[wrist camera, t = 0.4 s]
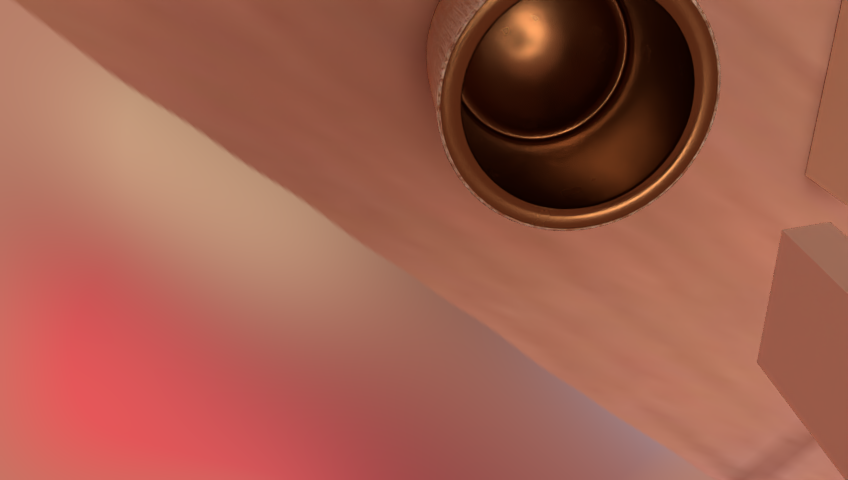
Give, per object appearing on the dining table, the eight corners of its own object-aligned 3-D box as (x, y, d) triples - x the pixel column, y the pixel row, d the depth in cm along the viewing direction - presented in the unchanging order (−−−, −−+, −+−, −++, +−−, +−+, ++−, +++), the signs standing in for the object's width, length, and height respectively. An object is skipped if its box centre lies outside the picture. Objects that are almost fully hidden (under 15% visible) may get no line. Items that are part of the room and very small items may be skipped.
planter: (497, 192, 39) (525, 280, 30) (381, 18, 35) (376, 64, 26) (681, 80, 36) (768, 141, 28) (581, -121, 32) (647, -121, 24)
